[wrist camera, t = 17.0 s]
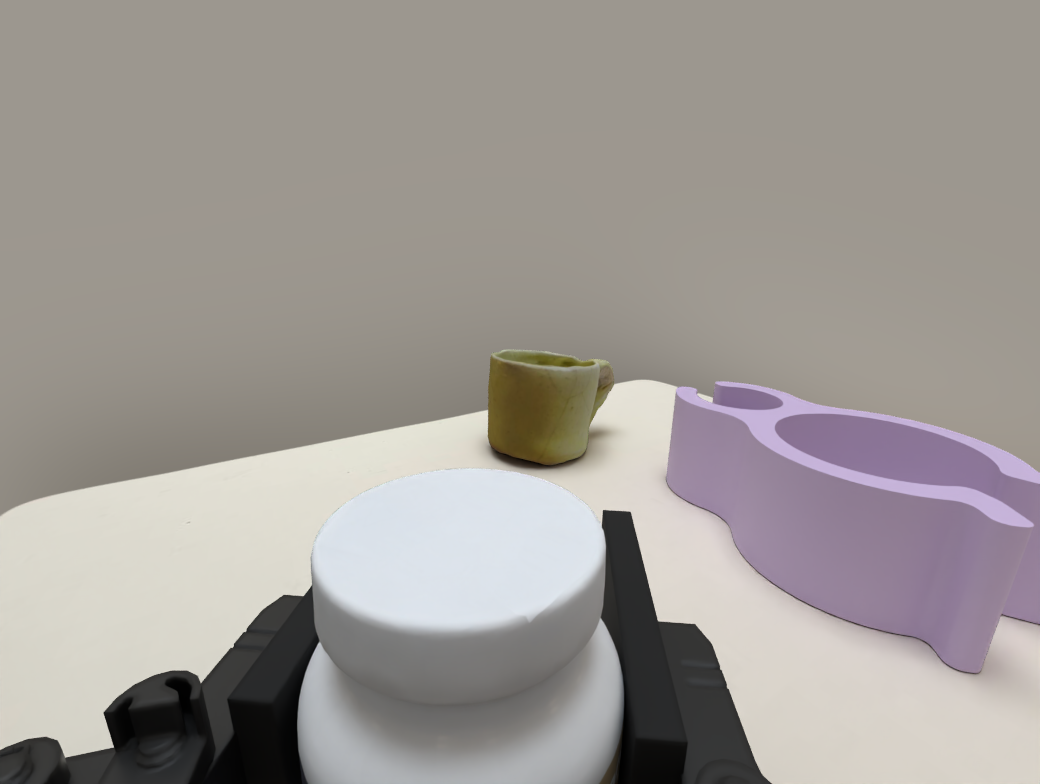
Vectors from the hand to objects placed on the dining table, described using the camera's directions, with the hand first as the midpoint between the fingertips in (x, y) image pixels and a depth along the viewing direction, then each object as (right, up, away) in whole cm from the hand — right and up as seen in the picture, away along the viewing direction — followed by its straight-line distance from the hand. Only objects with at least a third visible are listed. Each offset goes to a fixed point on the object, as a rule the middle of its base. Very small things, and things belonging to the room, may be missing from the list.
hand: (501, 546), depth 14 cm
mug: (+4, 0, +29) cm, 29 cm away
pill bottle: (-1, -7, -3) cm, 8 cm away
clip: (+18, -4, +16) cm, 25 cm away
